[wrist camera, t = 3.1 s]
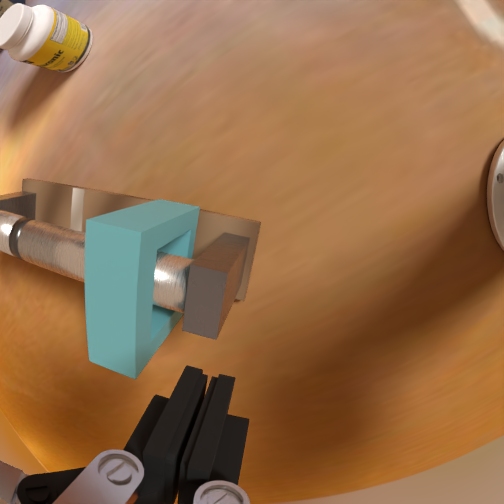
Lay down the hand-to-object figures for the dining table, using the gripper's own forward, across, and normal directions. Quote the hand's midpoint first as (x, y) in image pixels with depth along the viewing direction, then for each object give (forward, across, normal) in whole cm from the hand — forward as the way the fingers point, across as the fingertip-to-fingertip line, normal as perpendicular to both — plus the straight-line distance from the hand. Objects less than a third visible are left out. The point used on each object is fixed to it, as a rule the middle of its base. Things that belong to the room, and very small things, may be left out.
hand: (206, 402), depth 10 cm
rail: (+16, +13, 0) cm, 21 cm away
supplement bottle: (+16, +22, -17) cm, 32 cm away
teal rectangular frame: (+13, +6, 0) cm, 14 cm away
